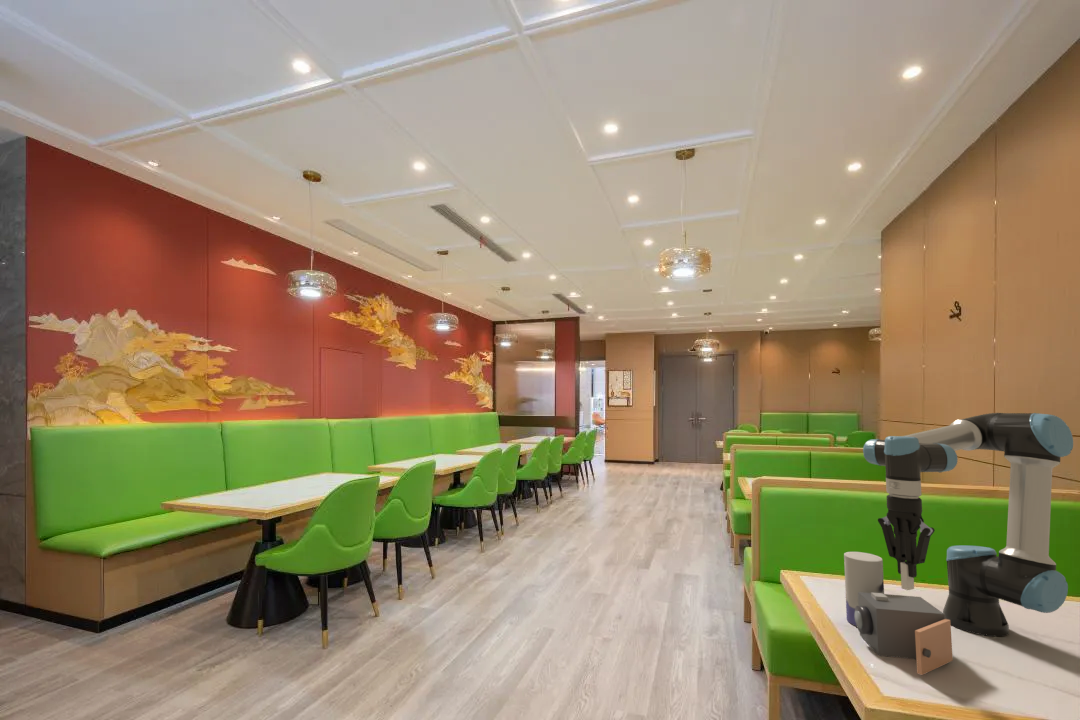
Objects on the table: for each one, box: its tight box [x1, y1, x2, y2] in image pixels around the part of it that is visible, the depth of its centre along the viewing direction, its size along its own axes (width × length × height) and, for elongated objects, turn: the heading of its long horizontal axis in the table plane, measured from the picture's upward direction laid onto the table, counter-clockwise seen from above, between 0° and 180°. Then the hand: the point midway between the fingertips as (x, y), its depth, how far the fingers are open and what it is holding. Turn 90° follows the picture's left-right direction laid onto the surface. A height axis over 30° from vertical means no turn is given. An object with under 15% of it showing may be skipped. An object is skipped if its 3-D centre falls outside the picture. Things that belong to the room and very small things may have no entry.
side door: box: [915, 619, 954, 676], centre depth 126 cm, size 15×2×10 cm, turn 118°
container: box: [843, 551, 885, 627], centre depth 154 cm, size 10×10×20 cm
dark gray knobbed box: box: [855, 592, 945, 660], centre depth 139 cm, size 18×12×13 cm, turn 78°
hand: (907, 588), depth 130 cm, fingers closed
